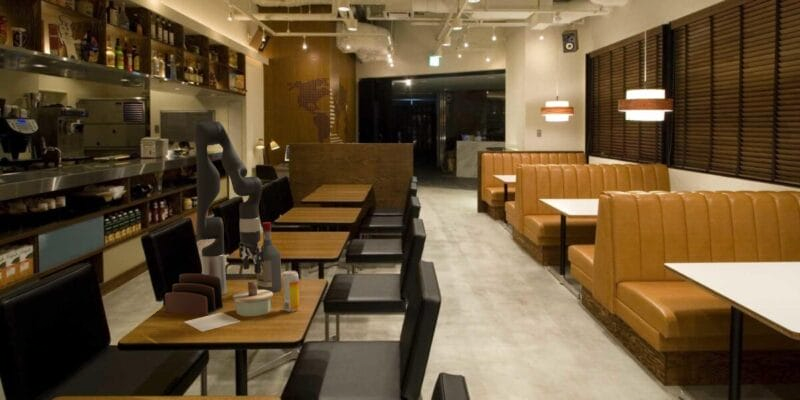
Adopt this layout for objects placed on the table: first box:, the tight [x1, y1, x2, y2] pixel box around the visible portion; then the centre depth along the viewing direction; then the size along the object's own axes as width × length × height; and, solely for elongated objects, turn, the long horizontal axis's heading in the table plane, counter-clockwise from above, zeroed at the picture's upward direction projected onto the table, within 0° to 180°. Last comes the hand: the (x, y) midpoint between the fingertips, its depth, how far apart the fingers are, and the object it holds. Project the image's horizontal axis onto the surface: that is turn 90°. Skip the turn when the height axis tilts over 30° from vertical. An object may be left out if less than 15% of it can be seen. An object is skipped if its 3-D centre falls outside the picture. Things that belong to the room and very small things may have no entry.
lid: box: [232, 280, 274, 303], centre depth 229 cm, size 15×15×6 cm
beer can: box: [281, 270, 301, 313], centre depth 232 cm, size 6×6×15 cm
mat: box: [184, 312, 242, 332], centre depth 218 cm, size 15×15×1 cm
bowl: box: [235, 298, 272, 317], centre depth 230 cm, size 12×12×6 cm
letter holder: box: [164, 273, 224, 316], centre depth 233 cm, size 10×20×14 cm, turn 70°
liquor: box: [256, 221, 283, 294], centre depth 259 cm, size 9×9×30 cm
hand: (252, 271), depth 228 cm, fingers open, 8 cm apart
